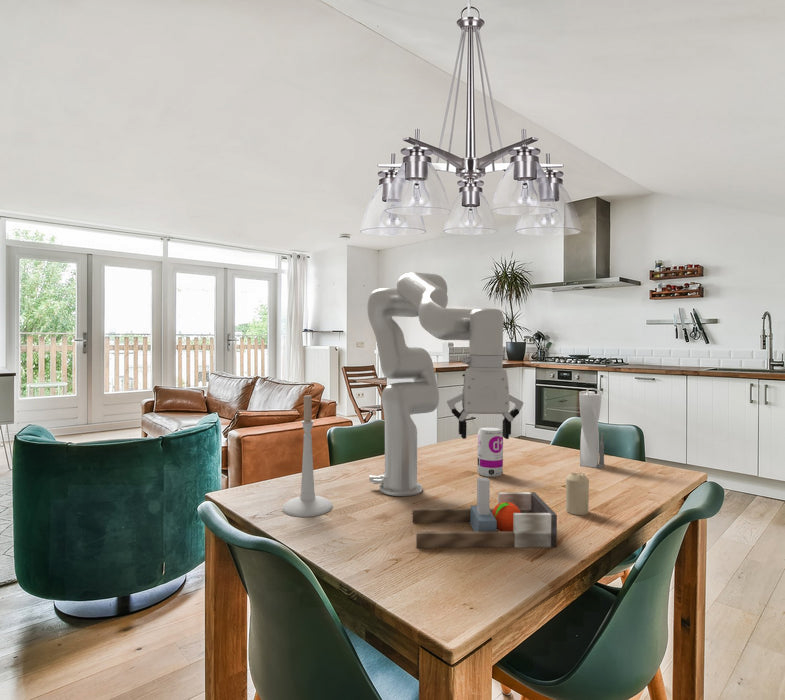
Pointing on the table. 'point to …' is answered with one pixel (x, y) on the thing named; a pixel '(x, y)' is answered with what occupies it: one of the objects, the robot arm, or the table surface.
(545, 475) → the table surface
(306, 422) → the candlestick
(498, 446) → the supplement can
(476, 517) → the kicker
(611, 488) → the table surface
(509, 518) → the clementine
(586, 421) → the skyscraper
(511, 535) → the frame
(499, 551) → the table surface
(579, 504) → the candle
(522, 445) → the table surface
